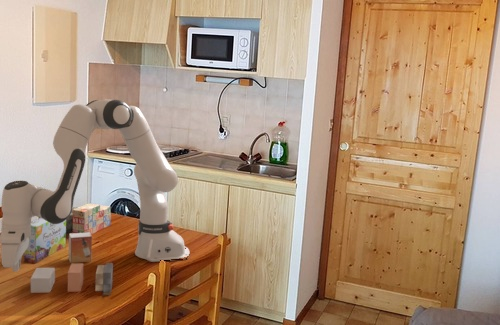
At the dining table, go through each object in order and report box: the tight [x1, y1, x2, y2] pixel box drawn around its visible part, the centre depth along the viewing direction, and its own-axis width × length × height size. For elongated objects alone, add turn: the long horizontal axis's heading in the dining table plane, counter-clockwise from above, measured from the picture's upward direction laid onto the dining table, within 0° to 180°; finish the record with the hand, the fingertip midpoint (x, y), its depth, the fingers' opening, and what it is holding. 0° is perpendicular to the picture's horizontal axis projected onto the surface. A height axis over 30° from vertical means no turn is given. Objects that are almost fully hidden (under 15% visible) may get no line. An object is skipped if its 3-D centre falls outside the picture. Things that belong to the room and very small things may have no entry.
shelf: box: [94, 262, 114, 296], centre depth 177 cm, size 26×10×8 cm, turn 101°
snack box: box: [23, 217, 67, 264], centre depth 206 cm, size 21×6×15 cm, turn 168°
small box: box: [68, 232, 93, 264], centre depth 202 cm, size 8×6×10 cm
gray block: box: [30, 267, 56, 294], centre depth 175 cm, size 6×9×5 cm, turn 11°
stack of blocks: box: [72, 203, 112, 235], centre depth 239 cm, size 21×6×12 cm, turn 163°
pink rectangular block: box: [67, 263, 84, 293], centre depth 177 cm, size 4×8×7 cm, turn 11°
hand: (16, 269), depth 173 cm, fingers closed
